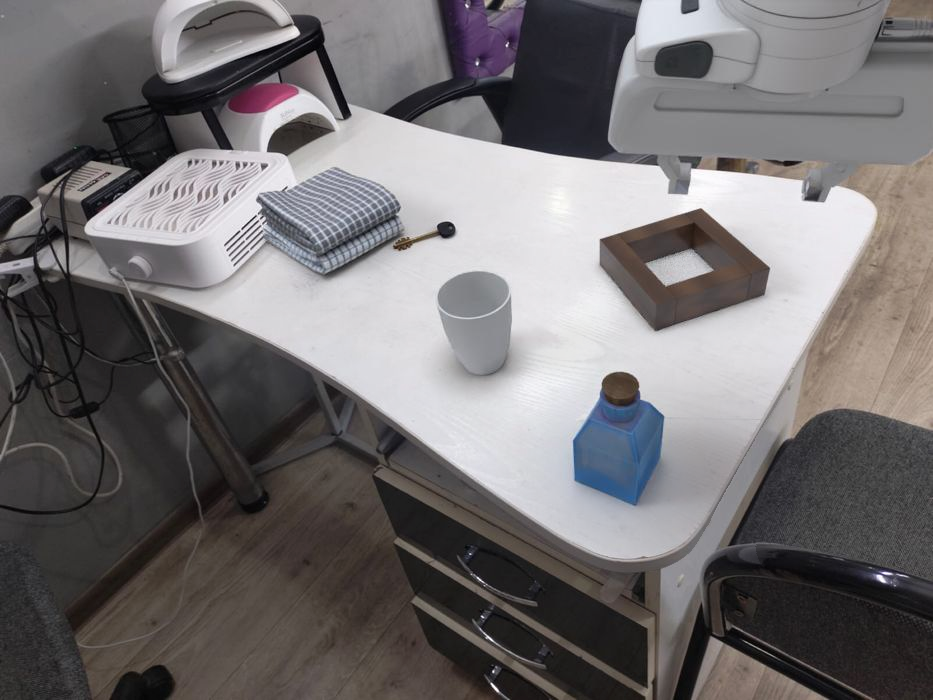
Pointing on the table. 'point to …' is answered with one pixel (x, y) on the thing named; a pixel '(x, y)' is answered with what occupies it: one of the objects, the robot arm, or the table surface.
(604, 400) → the perfume bottle
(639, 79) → the robot arm
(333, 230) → the towel
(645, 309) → the stand
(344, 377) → the table surface
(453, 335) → the cup
